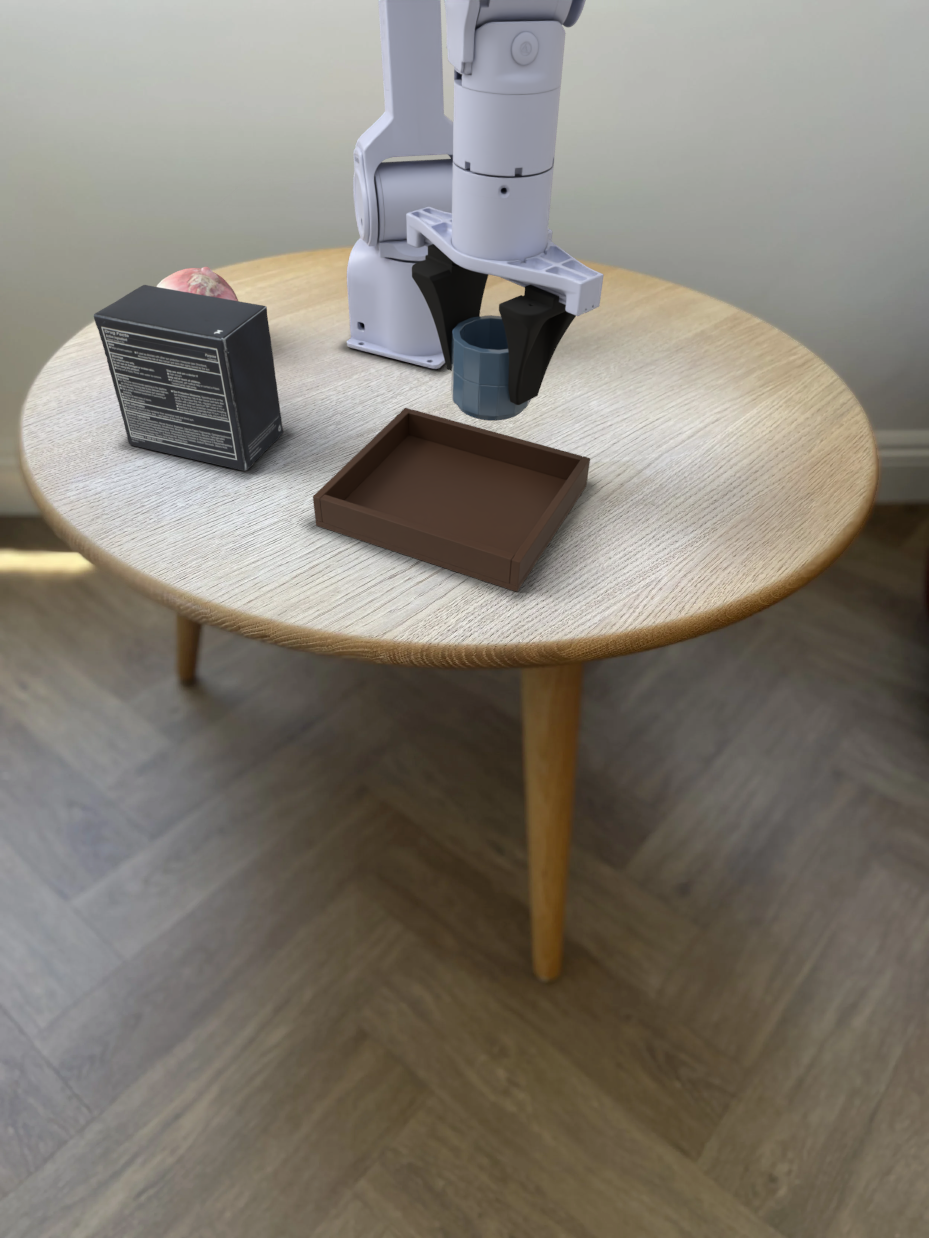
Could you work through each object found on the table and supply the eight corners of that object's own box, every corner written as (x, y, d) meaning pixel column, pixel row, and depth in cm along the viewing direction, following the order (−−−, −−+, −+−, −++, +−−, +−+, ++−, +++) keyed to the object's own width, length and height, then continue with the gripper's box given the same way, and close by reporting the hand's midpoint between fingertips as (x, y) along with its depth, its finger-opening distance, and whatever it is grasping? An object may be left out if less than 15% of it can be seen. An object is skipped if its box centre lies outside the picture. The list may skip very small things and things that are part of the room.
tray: (315, 525, 60) (312, 496, 58) (405, 435, 69) (405, 407, 67) (517, 592, 56) (520, 562, 54) (586, 486, 64) (590, 457, 63)
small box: (288, 431, 69) (271, 302, 62) (247, 474, 64) (224, 341, 57) (172, 405, 71) (143, 278, 64) (125, 446, 67) (88, 314, 59)
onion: (201, 377, 75) (184, 295, 70) (137, 353, 77) (117, 273, 73) (263, 342, 80) (252, 263, 75) (201, 320, 82) (186, 243, 78)
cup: (434, 401, 59) (434, 332, 56) (490, 375, 62) (493, 307, 59) (491, 432, 57) (495, 361, 53) (547, 404, 59) (554, 334, 56)
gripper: (650, 179, 47) (614, 402, 57) (463, 122, 55) (458, 328, 64) (566, 208, 44) (542, 441, 53) (377, 142, 51) (386, 358, 60)
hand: (491, 382), depth 58 cm, fingers closed on cup, 5 cm apart
